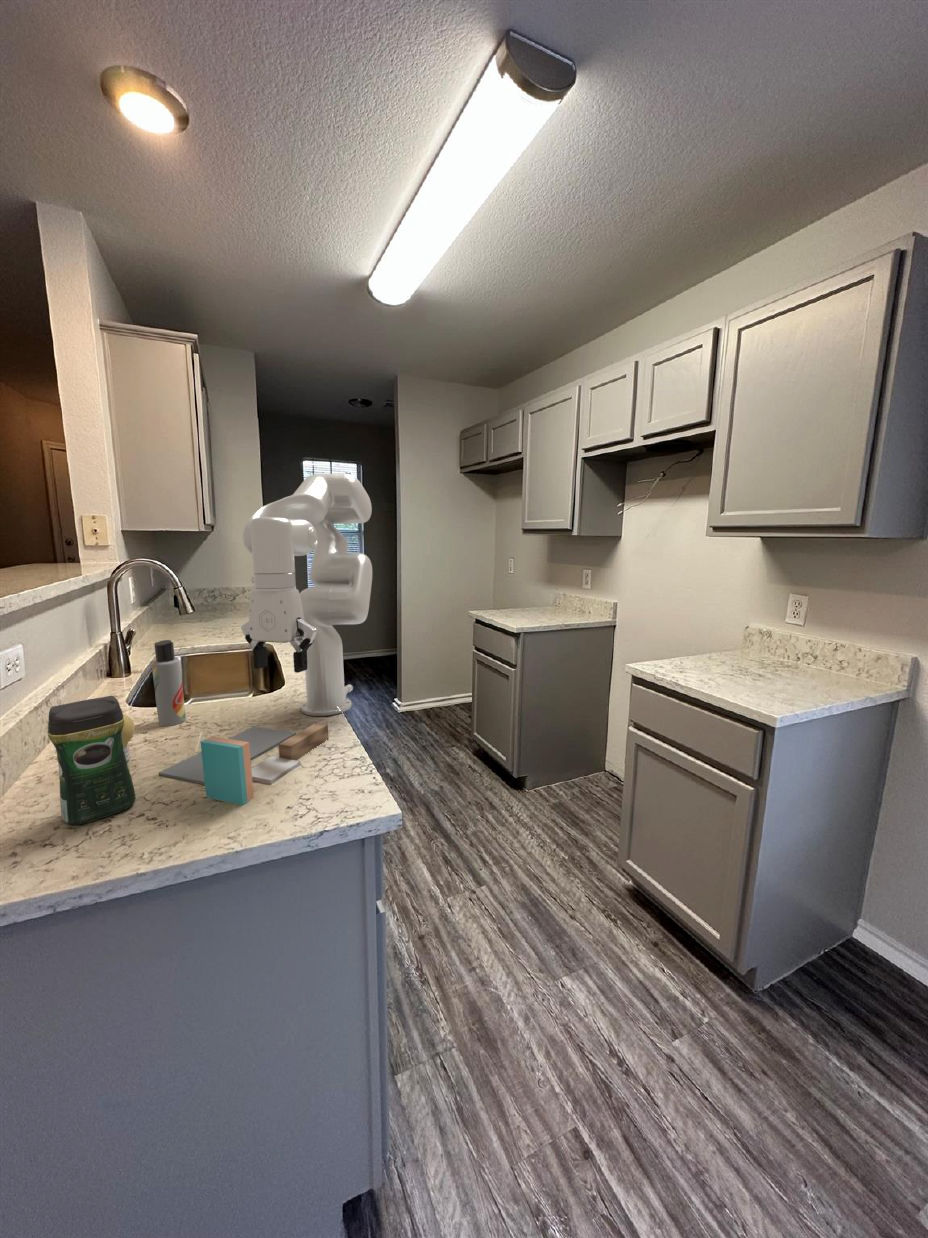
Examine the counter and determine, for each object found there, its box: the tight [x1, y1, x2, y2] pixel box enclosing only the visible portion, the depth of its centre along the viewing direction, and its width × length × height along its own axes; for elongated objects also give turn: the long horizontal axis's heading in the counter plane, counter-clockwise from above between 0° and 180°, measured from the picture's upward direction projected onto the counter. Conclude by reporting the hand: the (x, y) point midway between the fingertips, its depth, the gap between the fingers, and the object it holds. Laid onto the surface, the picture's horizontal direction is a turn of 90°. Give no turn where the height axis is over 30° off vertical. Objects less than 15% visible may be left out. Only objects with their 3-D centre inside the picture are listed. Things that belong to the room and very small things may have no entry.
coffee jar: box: [47, 695, 136, 826], centre depth 77 cm, size 10×8×19 cm
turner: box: [251, 722, 329, 785], centre depth 97 cm, size 20×7×4 cm, turn 160°
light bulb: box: [121, 714, 136, 763], centre depth 95 cm, size 6×6×10 cm
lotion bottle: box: [151, 639, 187, 727], centre depth 116 cm, size 6×6×20 cm
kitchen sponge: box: [199, 735, 255, 806], centre depth 81 cm, size 2×8×10 cm, turn 71°
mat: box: [158, 725, 297, 785], centre depth 100 cm, size 24×12×1 cm, turn 160°
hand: (280, 669), depth 96 cm, fingers open, 9 cm apart
